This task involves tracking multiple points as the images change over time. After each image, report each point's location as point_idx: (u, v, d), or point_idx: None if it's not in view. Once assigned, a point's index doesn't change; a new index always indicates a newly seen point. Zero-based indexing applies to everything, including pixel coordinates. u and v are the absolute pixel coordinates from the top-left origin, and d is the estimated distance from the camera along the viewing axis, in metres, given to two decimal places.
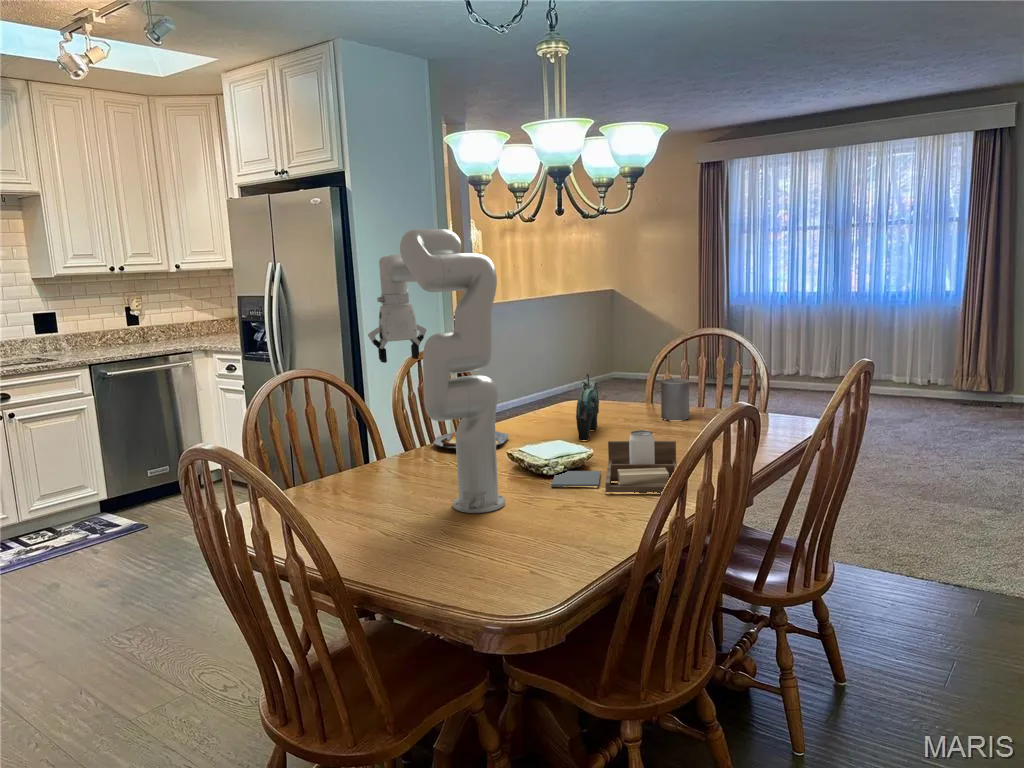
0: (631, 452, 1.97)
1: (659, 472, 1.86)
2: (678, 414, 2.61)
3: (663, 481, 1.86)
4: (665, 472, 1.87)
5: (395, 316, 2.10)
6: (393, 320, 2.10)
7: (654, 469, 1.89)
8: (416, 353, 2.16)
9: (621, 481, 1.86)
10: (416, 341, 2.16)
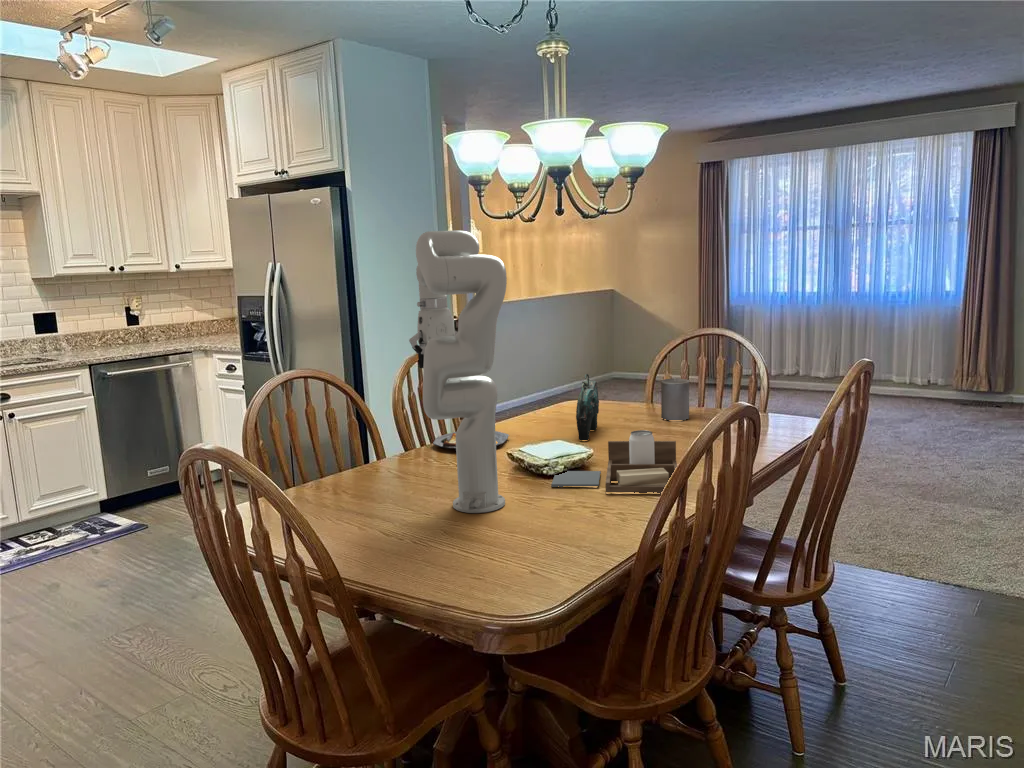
0: (631, 452, 1.97)
1: (659, 472, 1.87)
2: (678, 414, 2.61)
3: (663, 481, 1.86)
4: (665, 472, 1.87)
5: (436, 321, 2.07)
6: (434, 324, 2.06)
7: (653, 469, 1.90)
8: None
9: (622, 482, 1.86)
10: None
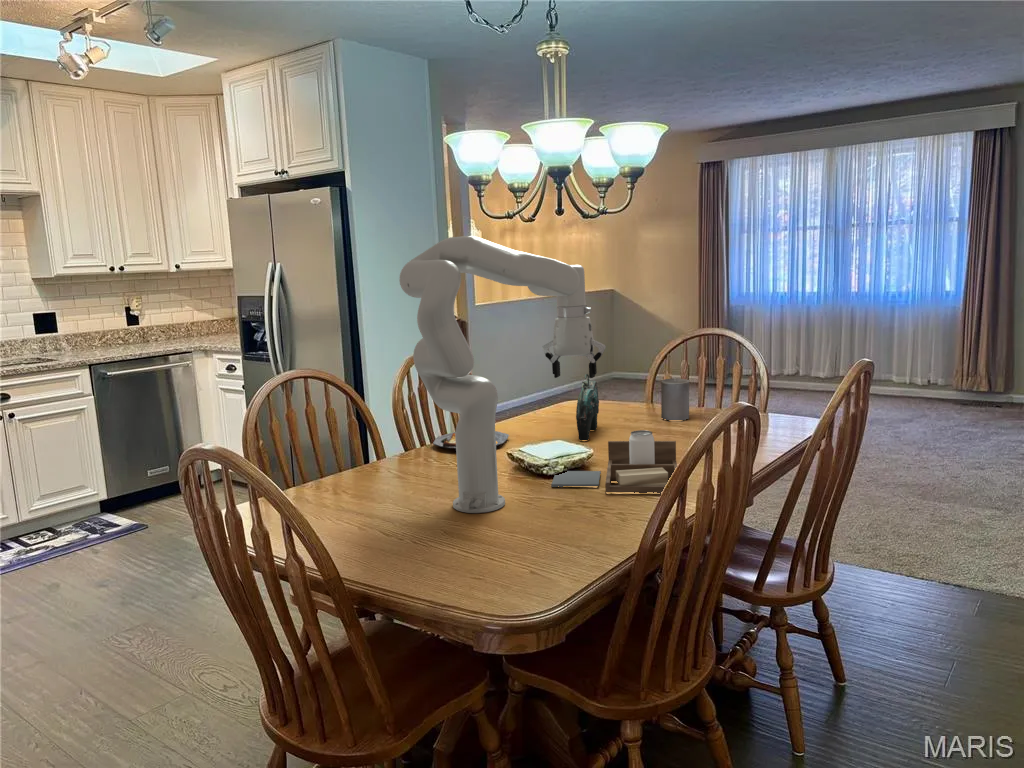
0: (631, 452, 1.97)
1: (658, 472, 1.87)
2: (678, 414, 2.61)
3: (662, 481, 1.87)
4: (664, 472, 1.87)
5: None
6: None
7: (652, 469, 1.90)
8: None
9: (621, 482, 1.86)
10: None
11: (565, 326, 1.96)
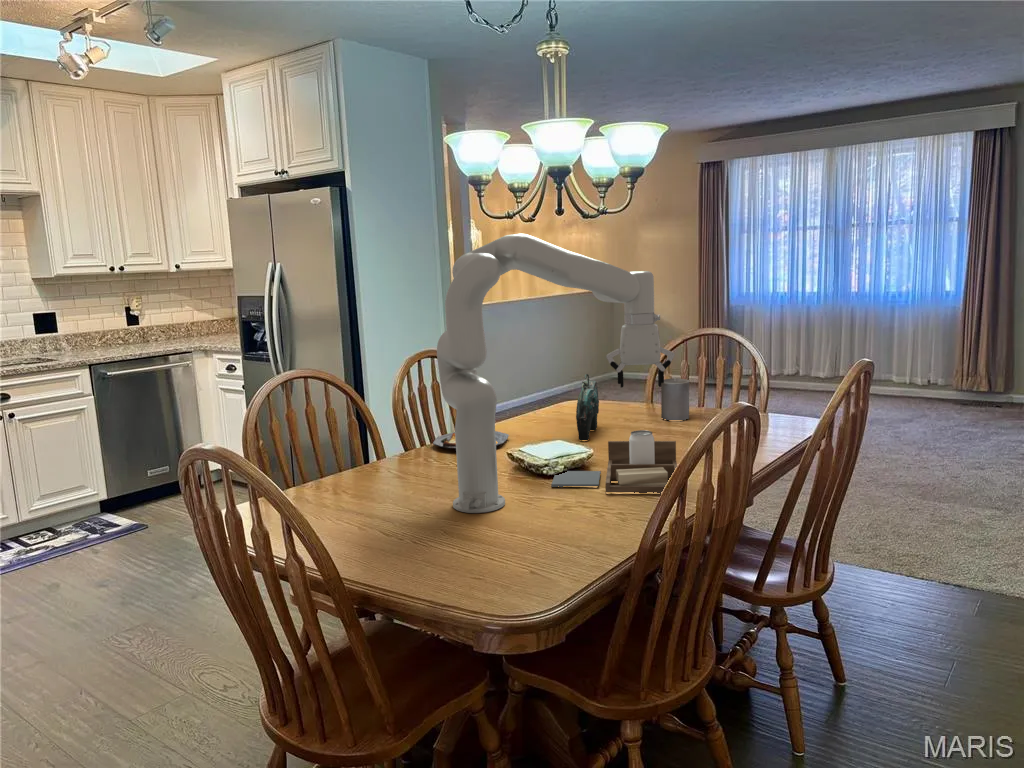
0: (631, 452, 1.97)
1: (658, 472, 1.87)
2: (678, 414, 2.61)
3: (662, 480, 1.86)
4: (664, 471, 1.87)
5: None
6: None
7: (652, 469, 1.90)
8: None
9: (620, 481, 1.86)
10: None
11: (635, 334, 1.90)
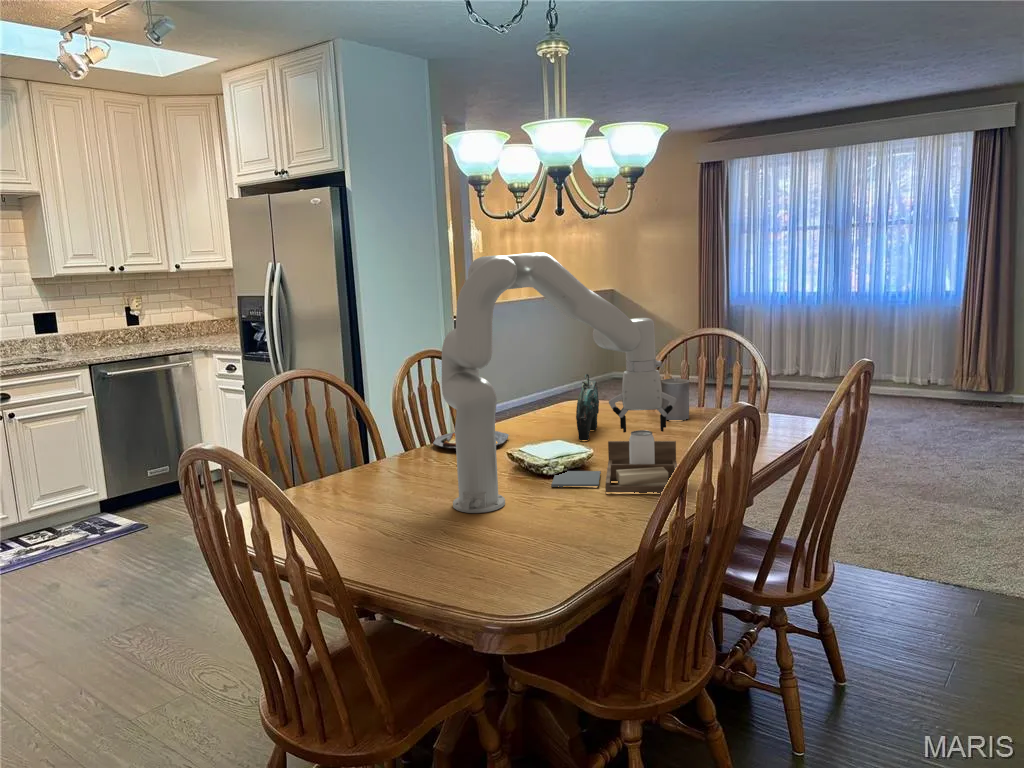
0: (631, 452, 1.97)
1: (659, 472, 1.87)
2: (678, 414, 2.61)
3: (663, 480, 1.87)
4: (664, 471, 1.87)
5: None
6: None
7: (653, 468, 1.90)
8: None
9: (621, 481, 1.86)
10: None
11: (637, 380, 1.92)
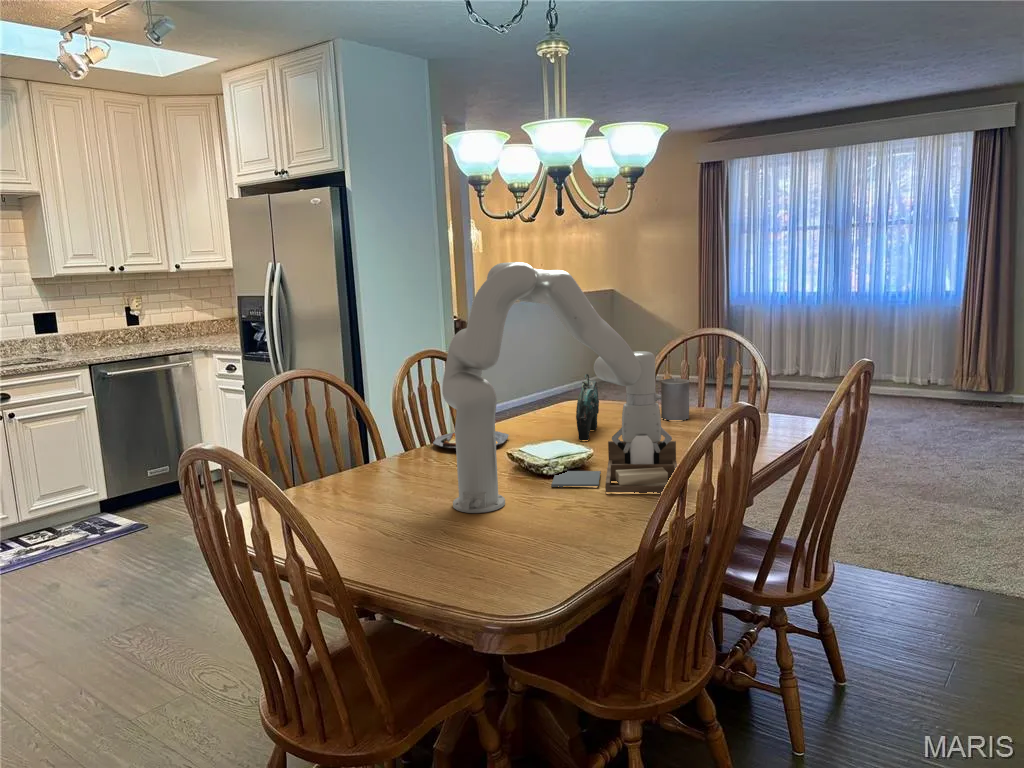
0: (631, 452, 1.97)
1: (658, 472, 1.87)
2: (678, 414, 2.61)
3: (662, 481, 1.86)
4: (664, 472, 1.87)
5: None
6: None
7: (652, 469, 1.90)
8: None
9: (621, 481, 1.86)
10: None
11: (636, 413, 1.94)
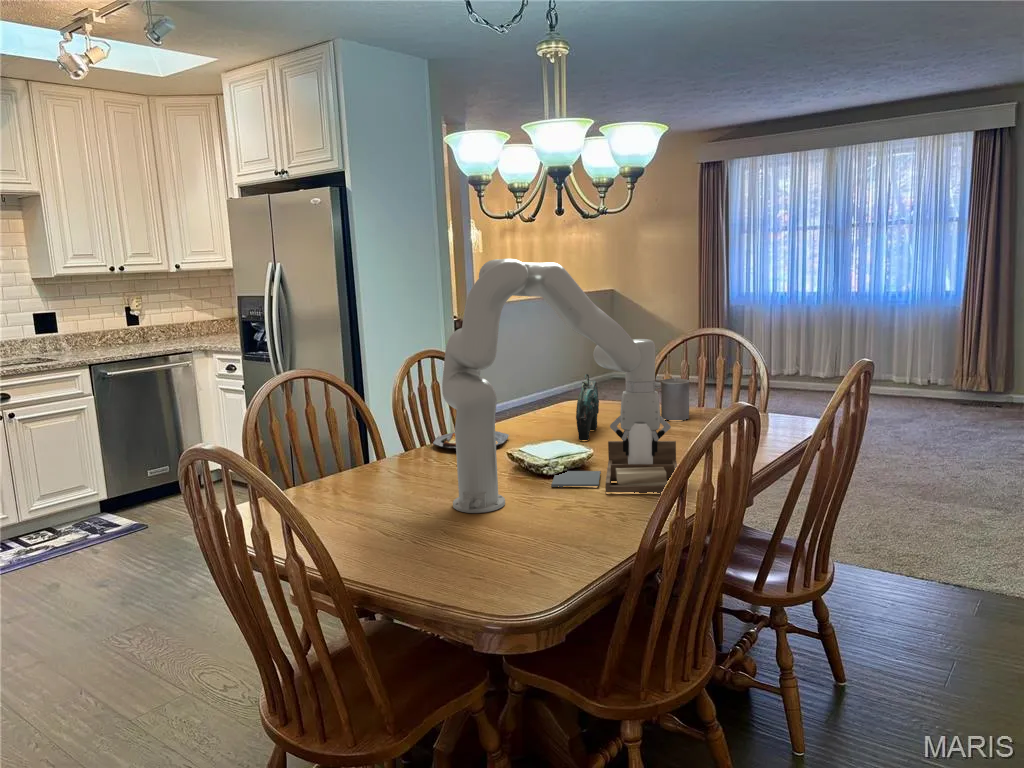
0: (629, 440, 1.96)
1: (657, 471, 1.87)
2: (678, 414, 2.61)
3: (661, 480, 1.87)
4: (663, 471, 1.87)
5: None
6: None
7: (652, 468, 1.90)
8: None
9: (619, 480, 1.87)
10: None
11: (635, 401, 1.93)
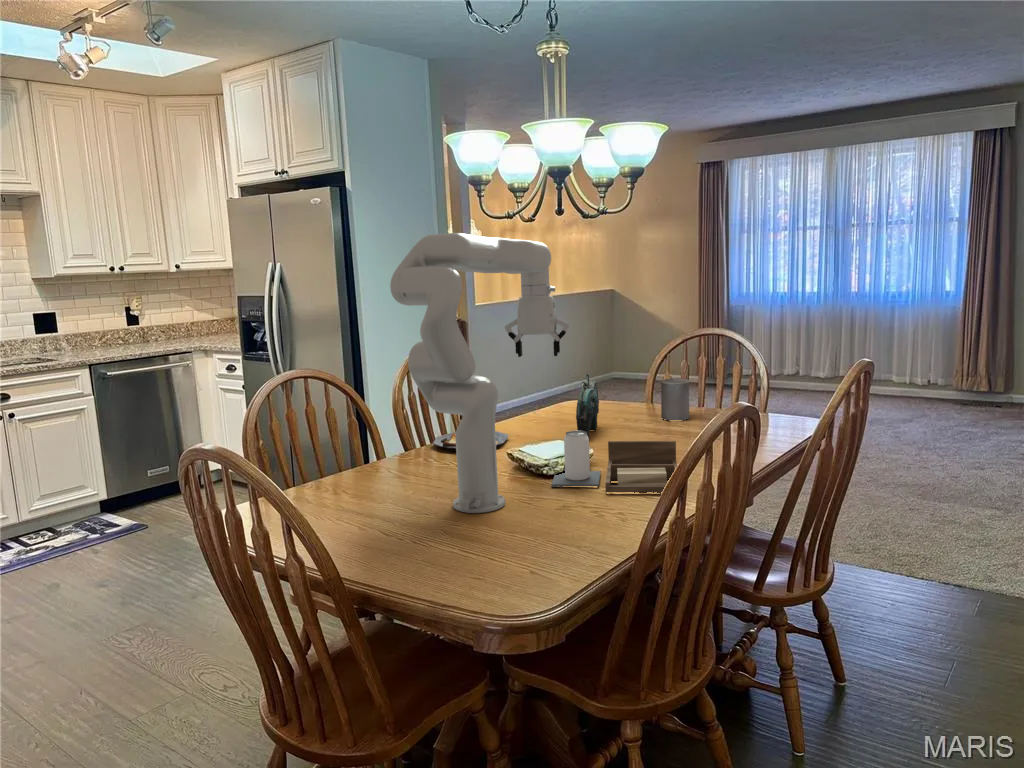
0: (565, 453, 1.95)
1: (657, 472, 1.87)
2: (678, 414, 2.61)
3: (661, 481, 1.87)
4: (663, 472, 1.87)
5: None
6: None
7: (653, 469, 1.90)
8: None
9: (619, 480, 1.88)
10: None
11: (530, 305, 1.97)
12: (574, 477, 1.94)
